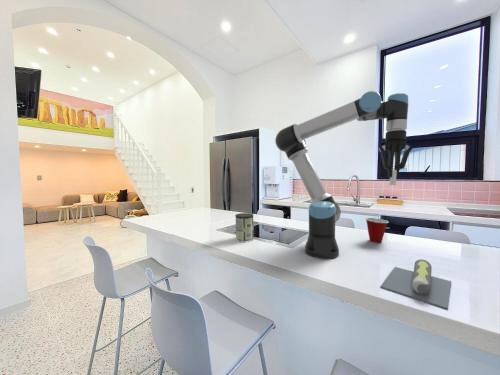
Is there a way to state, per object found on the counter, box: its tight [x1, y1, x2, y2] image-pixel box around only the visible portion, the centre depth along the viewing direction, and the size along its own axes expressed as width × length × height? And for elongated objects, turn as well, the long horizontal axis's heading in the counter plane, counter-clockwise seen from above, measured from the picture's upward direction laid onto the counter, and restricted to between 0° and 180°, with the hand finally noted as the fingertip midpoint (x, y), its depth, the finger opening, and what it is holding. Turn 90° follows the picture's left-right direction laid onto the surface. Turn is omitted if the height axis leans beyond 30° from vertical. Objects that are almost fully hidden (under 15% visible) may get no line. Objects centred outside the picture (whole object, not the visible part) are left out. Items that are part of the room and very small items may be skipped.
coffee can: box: [234, 212, 254, 242], centre depth 121 cm, size 10×10×14 cm
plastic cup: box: [365, 217, 389, 243], centre depth 115 cm, size 11×11×12 cm
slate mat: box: [380, 266, 452, 310], centre depth 70 cm, size 20×16×1 cm
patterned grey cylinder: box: [412, 258, 432, 294], centre depth 71 cm, size 5×5×20 cm
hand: (392, 184), depth 95 cm, fingers closed
